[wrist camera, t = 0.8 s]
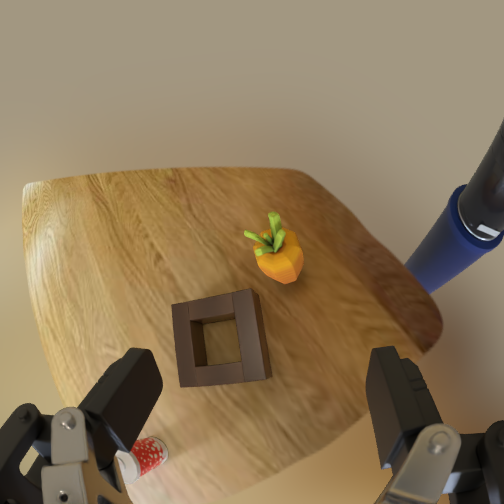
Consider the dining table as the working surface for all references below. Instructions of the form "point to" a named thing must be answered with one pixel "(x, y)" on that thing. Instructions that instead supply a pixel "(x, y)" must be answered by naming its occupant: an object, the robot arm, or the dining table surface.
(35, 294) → the dining table surface
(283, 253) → the carrot
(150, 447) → the beverage cup
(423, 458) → the robot arm
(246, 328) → the socket block
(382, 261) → the dining table surface
